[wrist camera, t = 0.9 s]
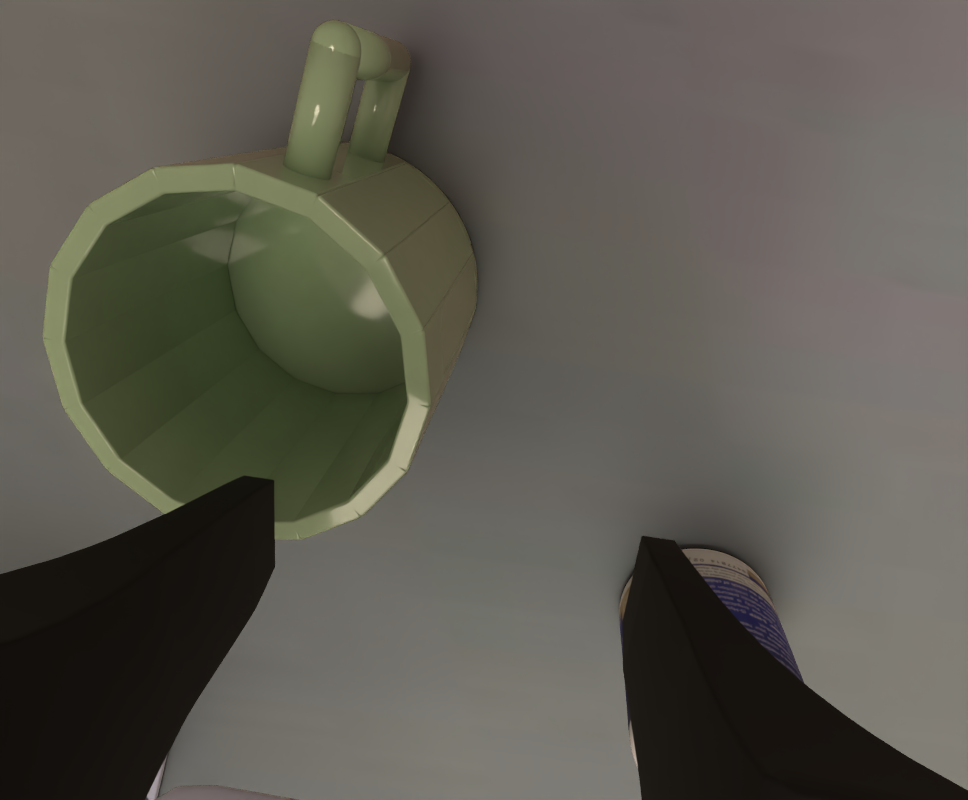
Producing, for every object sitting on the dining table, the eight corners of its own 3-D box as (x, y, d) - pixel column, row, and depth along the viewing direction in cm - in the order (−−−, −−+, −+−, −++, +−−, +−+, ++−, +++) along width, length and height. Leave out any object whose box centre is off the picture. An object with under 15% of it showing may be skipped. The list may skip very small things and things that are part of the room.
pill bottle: (626, 536, 25) (652, 744, 17) (781, 550, 25) (883, 771, 17) (610, 656, 27) (627, 893, 19) (753, 671, 27) (833, 921, 19)
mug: (431, 433, 25) (366, 588, 17) (202, 349, 24) (27, 466, 16) (551, 99, 20) (540, 97, 12) (274, -8, 20) (83, -78, 12)
